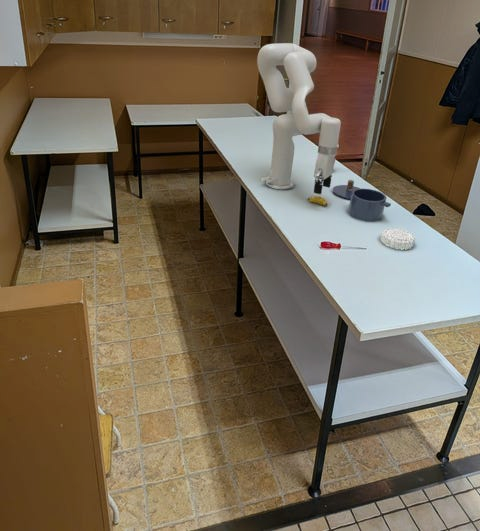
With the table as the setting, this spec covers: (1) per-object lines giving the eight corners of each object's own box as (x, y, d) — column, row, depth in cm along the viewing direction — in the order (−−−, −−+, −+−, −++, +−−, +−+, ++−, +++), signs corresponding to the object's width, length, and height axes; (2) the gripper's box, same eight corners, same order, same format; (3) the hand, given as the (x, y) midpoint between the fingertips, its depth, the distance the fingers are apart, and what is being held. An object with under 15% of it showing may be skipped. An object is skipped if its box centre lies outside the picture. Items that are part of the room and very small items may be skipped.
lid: (353, 203, 214) (355, 190, 211) (325, 192, 223) (327, 179, 220) (371, 195, 224) (374, 182, 221) (344, 184, 232) (346, 172, 229)
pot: (375, 226, 195) (380, 207, 191) (336, 210, 206) (340, 191, 202) (393, 217, 204) (398, 198, 200) (355, 202, 215) (358, 184, 211)
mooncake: (408, 253, 178) (410, 244, 176) (375, 243, 183) (377, 234, 181) (416, 241, 187) (419, 232, 185) (385, 231, 192) (387, 223, 190)
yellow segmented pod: (329, 204, 211) (330, 197, 209) (326, 207, 208) (327, 200, 207) (309, 199, 214) (310, 192, 213) (306, 201, 212) (307, 194, 210)
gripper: (326, 143, 207) (321, 182, 216) (310, 152, 194) (305, 194, 202) (343, 146, 204) (337, 186, 213) (328, 156, 191) (322, 198, 199)
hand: (321, 190), depth 207 cm, fingers open, 9 cm apart
